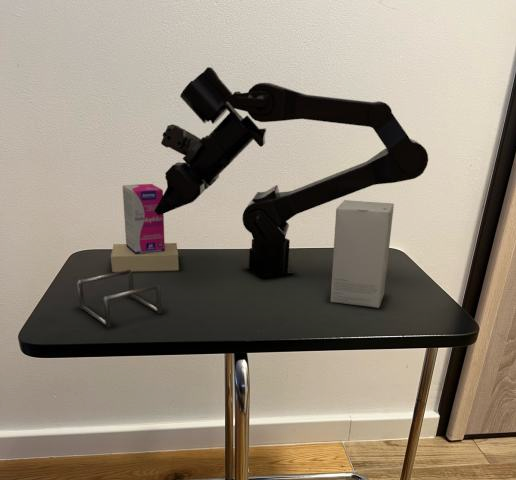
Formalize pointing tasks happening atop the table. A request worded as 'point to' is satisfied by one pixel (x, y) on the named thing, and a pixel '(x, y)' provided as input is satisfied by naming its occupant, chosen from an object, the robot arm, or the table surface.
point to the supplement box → (143, 218)
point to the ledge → (144, 259)
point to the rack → (118, 295)
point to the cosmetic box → (361, 252)
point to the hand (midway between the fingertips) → (163, 207)
